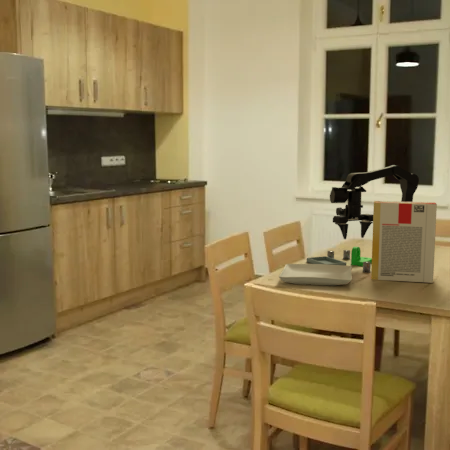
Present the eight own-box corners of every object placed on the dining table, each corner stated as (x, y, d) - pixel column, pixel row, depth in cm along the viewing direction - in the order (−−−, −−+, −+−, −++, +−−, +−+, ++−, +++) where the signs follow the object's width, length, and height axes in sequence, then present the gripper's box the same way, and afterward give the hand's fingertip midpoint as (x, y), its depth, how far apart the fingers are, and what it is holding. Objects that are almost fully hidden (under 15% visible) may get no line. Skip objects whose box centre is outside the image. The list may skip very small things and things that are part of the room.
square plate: (351, 274, 249) (352, 264, 248) (351, 289, 222) (352, 278, 222) (285, 271, 254) (286, 261, 254) (278, 285, 228) (278, 275, 227)
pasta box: (431, 278, 239) (435, 202, 235) (433, 282, 231) (436, 204, 228) (371, 275, 245) (374, 200, 241) (371, 279, 237) (373, 202, 233)
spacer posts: (358, 256, 285) (358, 248, 285) (402, 269, 257) (403, 259, 257) (324, 259, 278) (324, 251, 277) (365, 272, 250) (366, 263, 249)
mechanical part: (364, 266, 263) (364, 248, 262) (351, 265, 266) (351, 247, 265) (374, 262, 272) (374, 244, 271) (361, 261, 276) (361, 243, 275)
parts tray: (325, 260, 276) (325, 256, 275) (346, 266, 261) (346, 262, 261) (306, 262, 272) (306, 257, 271) (326, 268, 257) (326, 264, 257)
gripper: (360, 200, 273) (359, 234, 275) (325, 202, 265) (325, 237, 267) (376, 202, 263) (375, 237, 265) (340, 204, 255) (340, 241, 257)
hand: (353, 238), depth 264 cm, fingers open, 9 cm apart
